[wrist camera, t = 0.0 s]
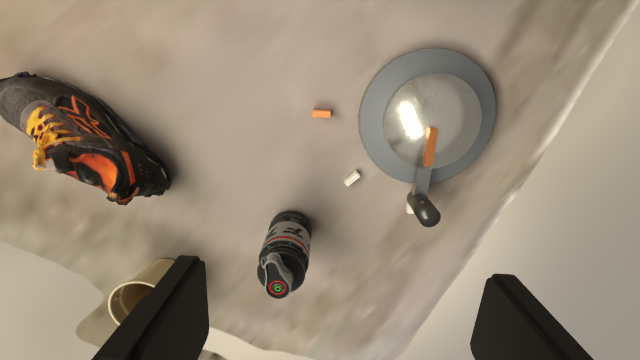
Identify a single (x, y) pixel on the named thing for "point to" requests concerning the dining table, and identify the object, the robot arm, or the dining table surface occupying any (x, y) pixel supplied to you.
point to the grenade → (285, 254)
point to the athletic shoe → (81, 138)
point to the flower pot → (136, 289)
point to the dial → (431, 130)
